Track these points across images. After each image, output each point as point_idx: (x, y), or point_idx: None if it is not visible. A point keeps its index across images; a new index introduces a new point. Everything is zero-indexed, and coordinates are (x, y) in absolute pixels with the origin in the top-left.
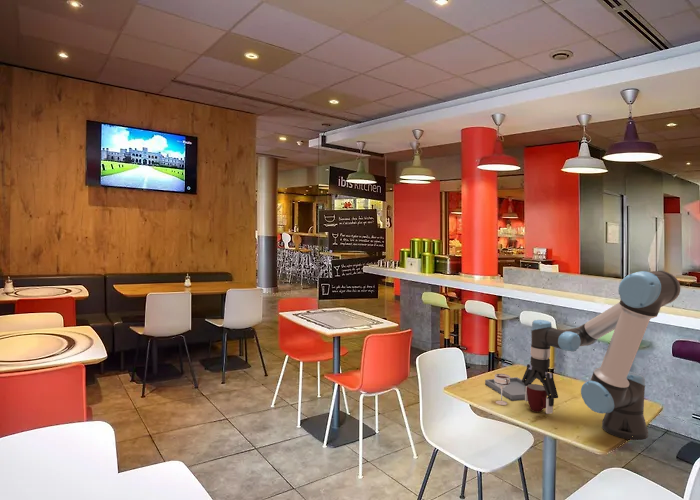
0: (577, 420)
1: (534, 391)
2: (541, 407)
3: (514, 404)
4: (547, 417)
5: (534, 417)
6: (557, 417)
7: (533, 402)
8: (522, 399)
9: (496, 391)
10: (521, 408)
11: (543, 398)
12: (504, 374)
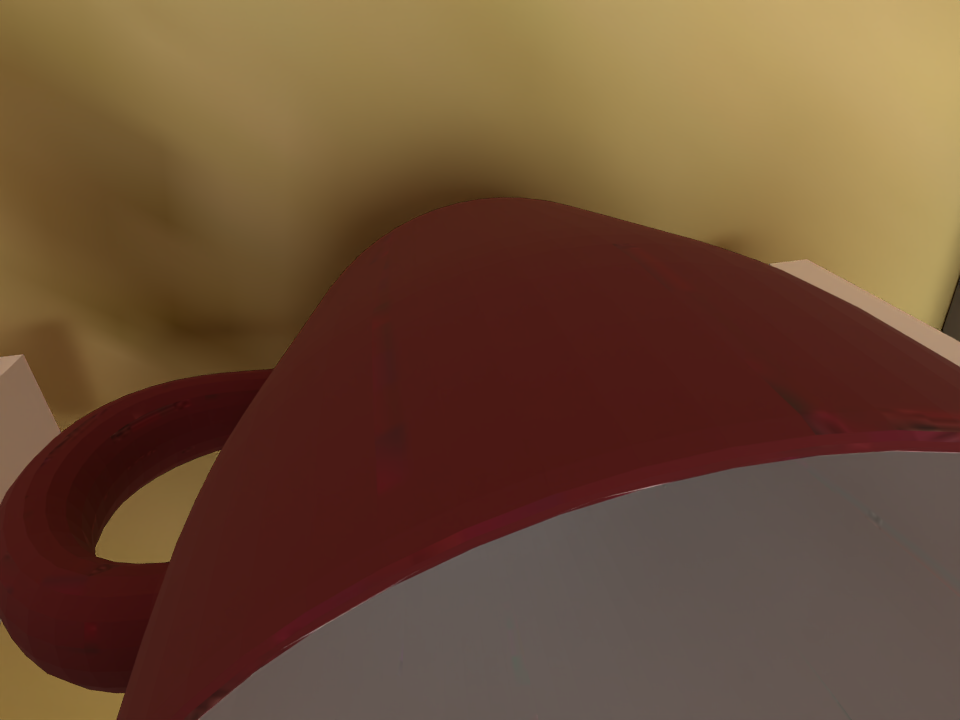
0: (31, 708)
1: (234, 561)
2: (217, 379)
3: (870, 16)
4: (104, 353)
5: (63, 51)
6: (126, 514)
7: (355, 265)
8: (954, 321)
9: None
10: (632, 49)
11: (26, 614)
12: None
